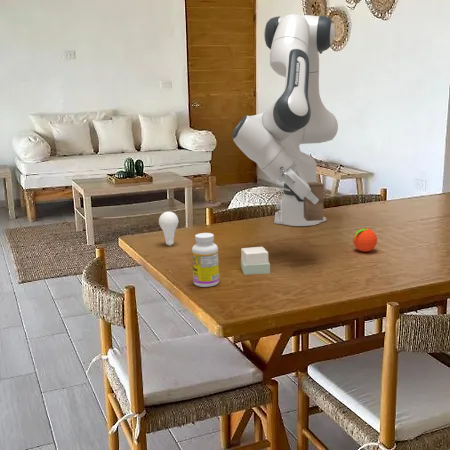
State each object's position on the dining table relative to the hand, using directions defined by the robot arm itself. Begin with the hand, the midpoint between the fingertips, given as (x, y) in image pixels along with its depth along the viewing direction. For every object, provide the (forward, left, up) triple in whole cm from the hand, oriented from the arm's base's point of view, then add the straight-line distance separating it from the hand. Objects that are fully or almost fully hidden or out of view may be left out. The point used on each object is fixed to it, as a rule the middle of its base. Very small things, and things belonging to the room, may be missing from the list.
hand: (315, 199), depth 165 cm
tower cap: (+6, -18, -15) cm, 24 cm away
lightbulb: (-23, -41, -18) cm, 50 cm away
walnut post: (0, -1, -5) cm, 5 cm away
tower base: (+6, -18, -18) cm, 26 cm away
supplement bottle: (+15, -32, -18) cm, 39 cm away
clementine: (-5, +16, -18) cm, 24 cm away
